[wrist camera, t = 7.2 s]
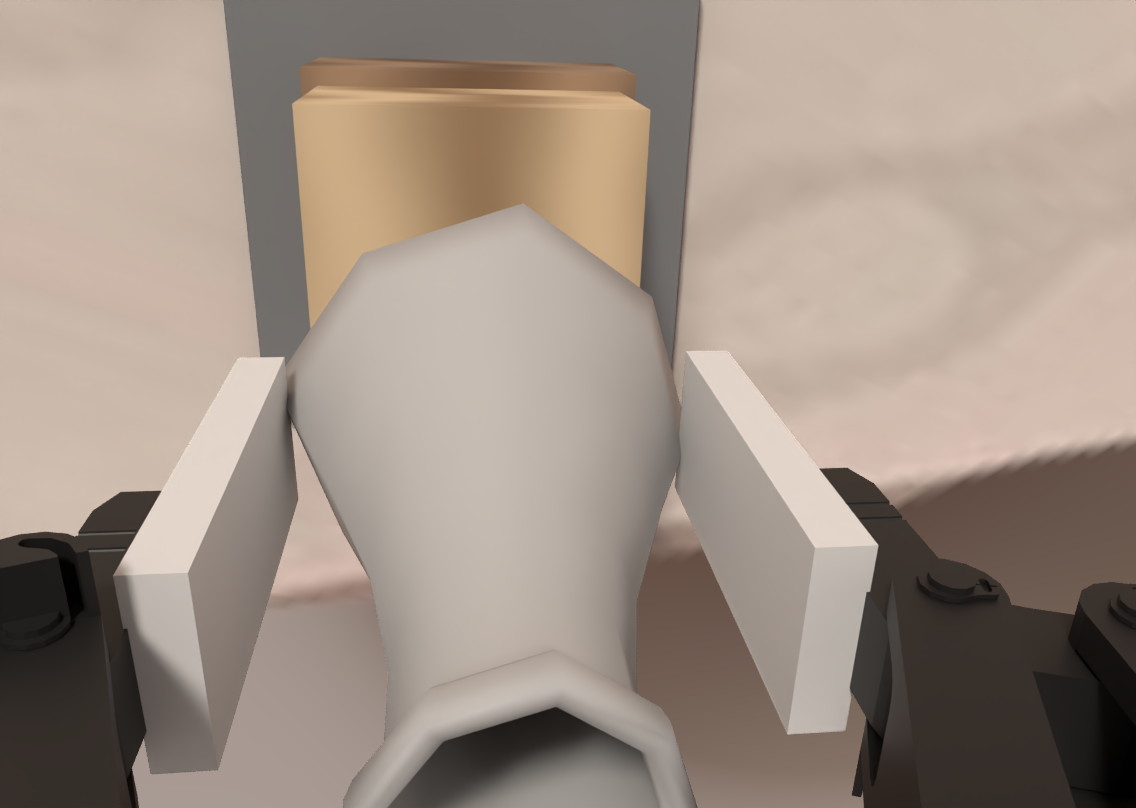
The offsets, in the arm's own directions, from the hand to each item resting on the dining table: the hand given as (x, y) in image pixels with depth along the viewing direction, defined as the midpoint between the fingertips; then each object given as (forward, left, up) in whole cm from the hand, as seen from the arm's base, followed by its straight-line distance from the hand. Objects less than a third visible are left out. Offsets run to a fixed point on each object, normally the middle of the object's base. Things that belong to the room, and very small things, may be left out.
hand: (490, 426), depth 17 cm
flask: (0, 0, -1) cm, 1 cm away
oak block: (0, 0, -15) cm, 15 cm away
